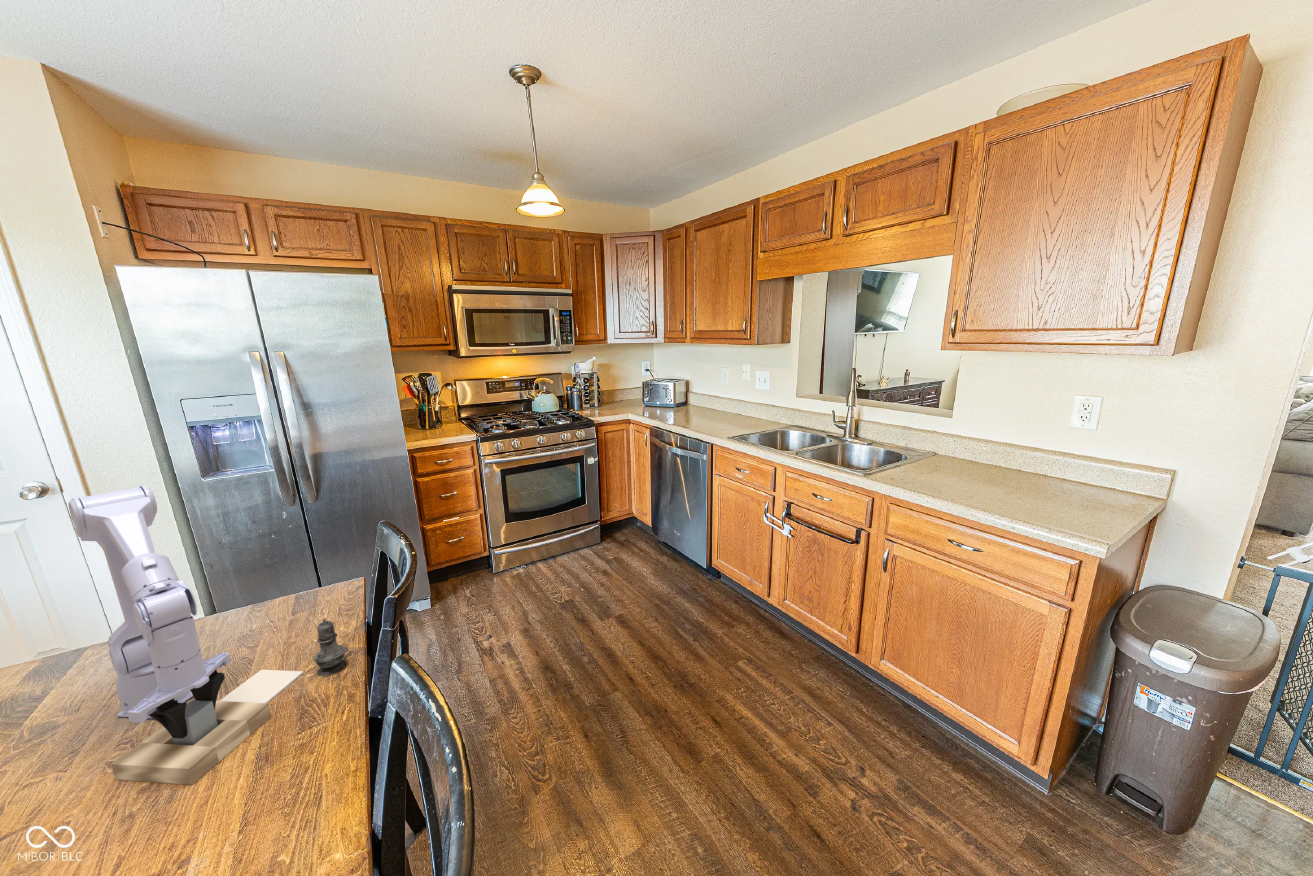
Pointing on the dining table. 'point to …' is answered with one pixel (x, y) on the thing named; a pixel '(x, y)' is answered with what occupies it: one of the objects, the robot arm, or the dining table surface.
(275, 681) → the coaster
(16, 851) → the dining table surface
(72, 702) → the dining table surface
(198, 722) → the peg
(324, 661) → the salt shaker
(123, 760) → the pocket board
